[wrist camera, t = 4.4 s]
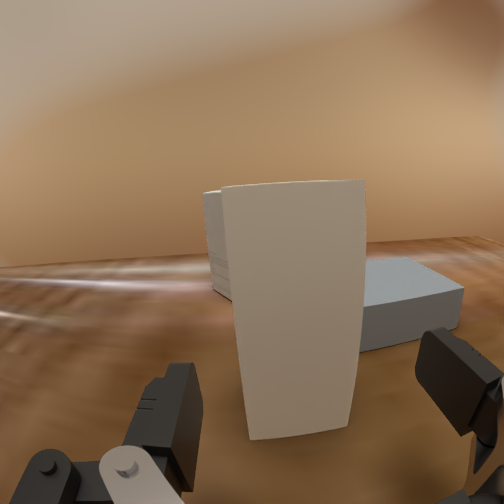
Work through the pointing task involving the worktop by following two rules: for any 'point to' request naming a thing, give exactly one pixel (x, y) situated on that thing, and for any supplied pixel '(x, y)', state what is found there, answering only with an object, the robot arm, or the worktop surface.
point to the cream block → (296, 300)
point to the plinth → (405, 302)
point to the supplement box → (216, 242)
